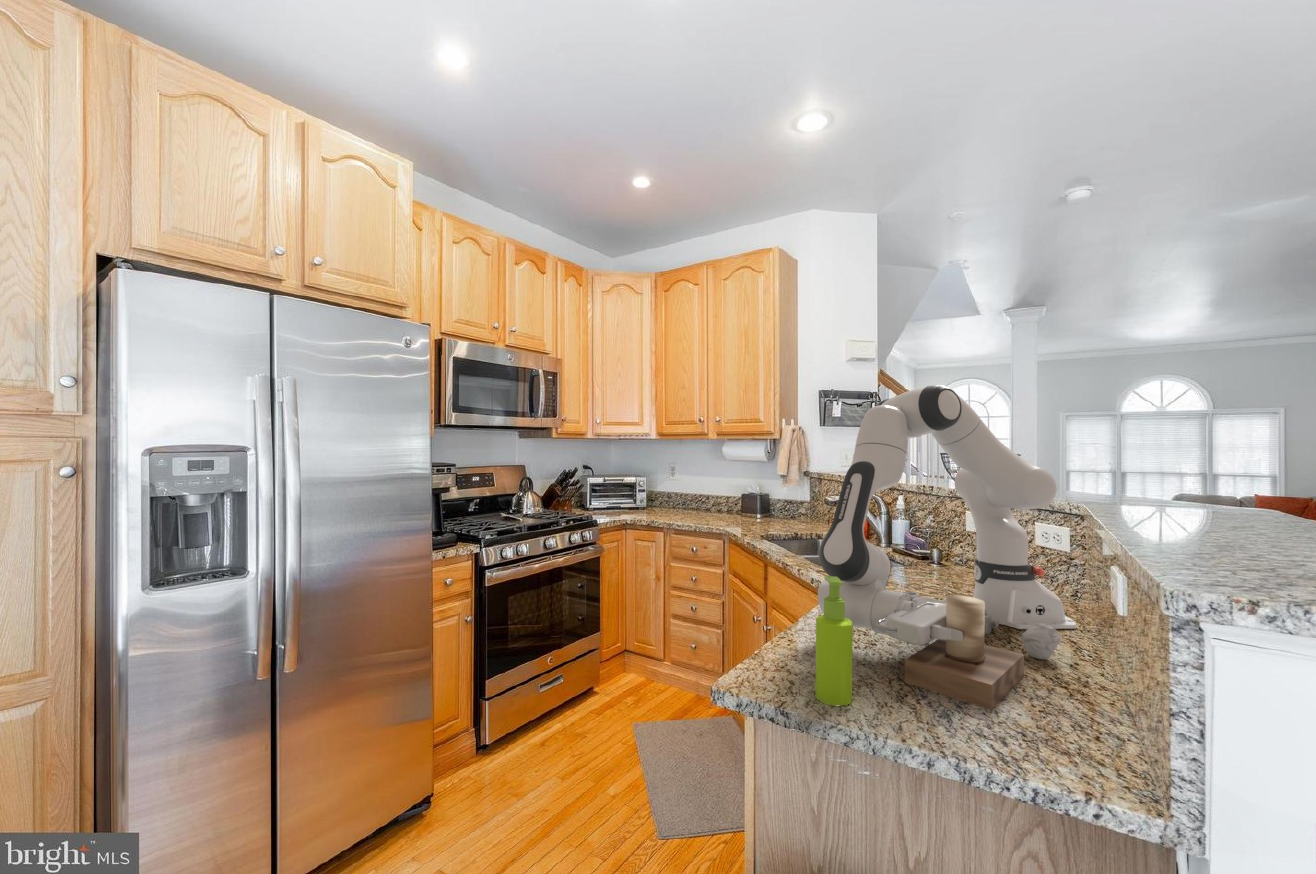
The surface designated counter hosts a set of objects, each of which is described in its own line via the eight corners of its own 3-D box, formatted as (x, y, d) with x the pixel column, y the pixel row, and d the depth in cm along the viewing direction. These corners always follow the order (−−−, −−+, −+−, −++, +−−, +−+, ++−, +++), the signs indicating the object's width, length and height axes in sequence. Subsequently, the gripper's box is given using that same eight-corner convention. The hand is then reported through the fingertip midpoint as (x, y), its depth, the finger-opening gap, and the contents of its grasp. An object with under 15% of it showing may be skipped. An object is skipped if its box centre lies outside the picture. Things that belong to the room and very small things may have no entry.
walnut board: (944, 654, 114) (944, 635, 114) (1024, 675, 104) (1024, 654, 104) (904, 682, 100) (904, 660, 100) (991, 709, 90) (991, 685, 90)
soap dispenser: (845, 688, 97) (846, 574, 97) (855, 707, 90) (856, 584, 90) (811, 686, 97) (812, 573, 98) (818, 705, 90) (820, 582, 91)
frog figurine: (1068, 664, 110) (1068, 629, 110) (1034, 664, 109) (1034, 629, 109) (1045, 652, 116) (1045, 619, 116) (1013, 653, 115) (1013, 619, 115)
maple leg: (974, 670, 104) (975, 596, 105) (990, 684, 98) (991, 605, 98) (939, 668, 105) (940, 594, 105) (953, 682, 99) (954, 603, 99)
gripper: (871, 608, 104) (950, 626, 94) (915, 590, 118) (987, 604, 108) (871, 641, 104) (949, 663, 94) (914, 619, 118) (987, 636, 108)
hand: (970, 631), depth 101 cm, fingers closed on maple leg, 6 cm apart
